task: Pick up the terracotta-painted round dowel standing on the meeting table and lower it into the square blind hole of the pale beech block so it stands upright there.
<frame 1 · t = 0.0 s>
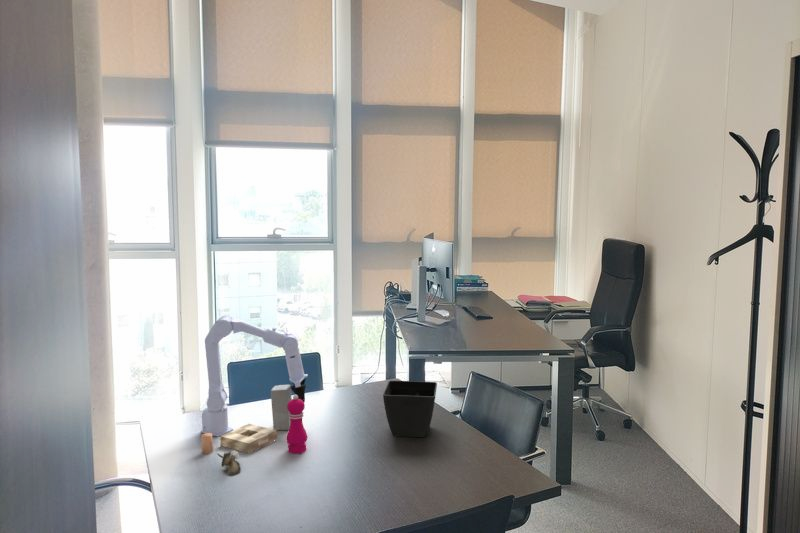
hand: (301, 399, 232), 11 cm above the table, tool pointing down, fingers open, 7 cm apart
peg: (207, 451, 210), on the table
bore block: (249, 442, 217), on the table
skincare box: (282, 427, 233), on the table
flower pot: (411, 431, 226), on the table
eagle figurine: (229, 471, 194), on the table
pepper mill: (297, 450, 210), on the table
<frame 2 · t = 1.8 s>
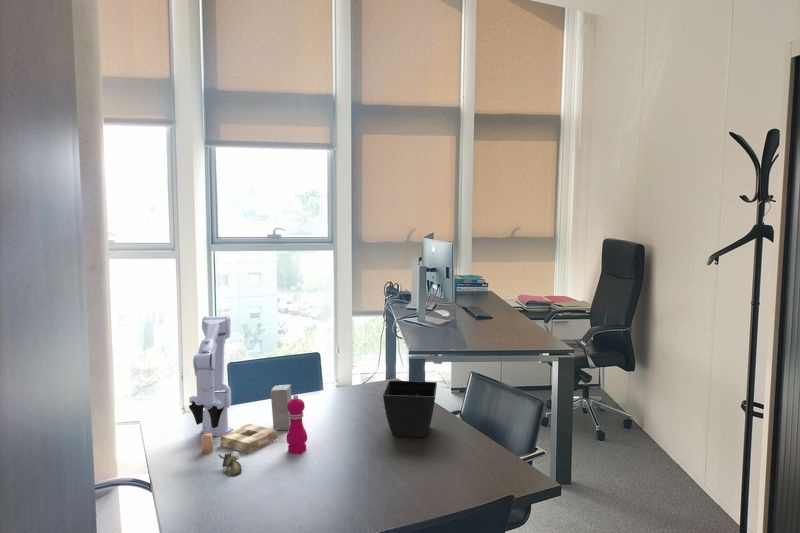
hand: (207, 425, 209), 9 cm above the table, tool pointing down, fingers open, 7 cm apart
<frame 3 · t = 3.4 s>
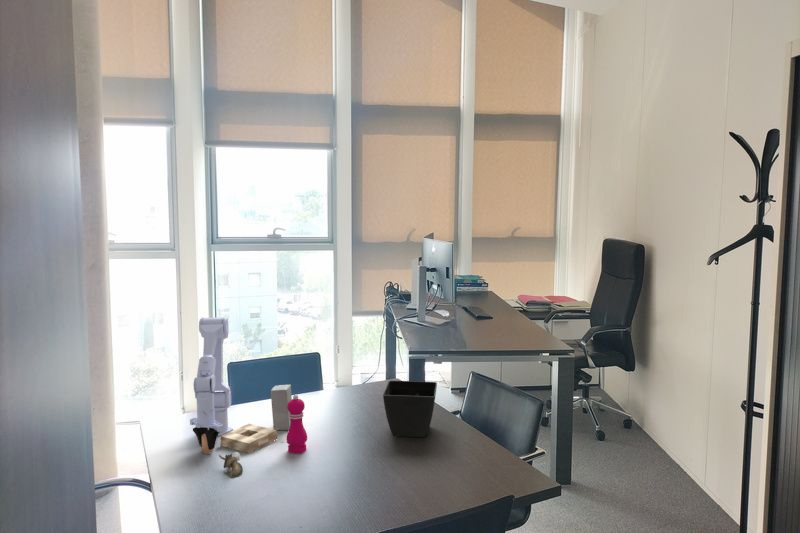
hand: (207, 447, 210), 1 cm above the table, tool pointing down, fingers closed on peg, 4 cm apart
peg: (207, 451, 210), on the table, touching gripper
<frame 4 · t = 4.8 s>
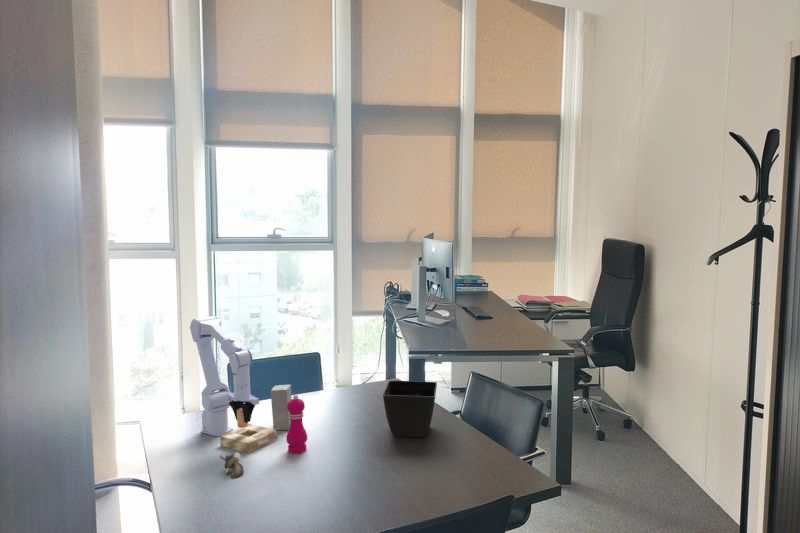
hand: (243, 420, 215), 8 cm above the table, tool pointing down, fingers closed on peg, 4 cm apart
peg: (242, 425, 215), point 7 cm above the table, touching gripper
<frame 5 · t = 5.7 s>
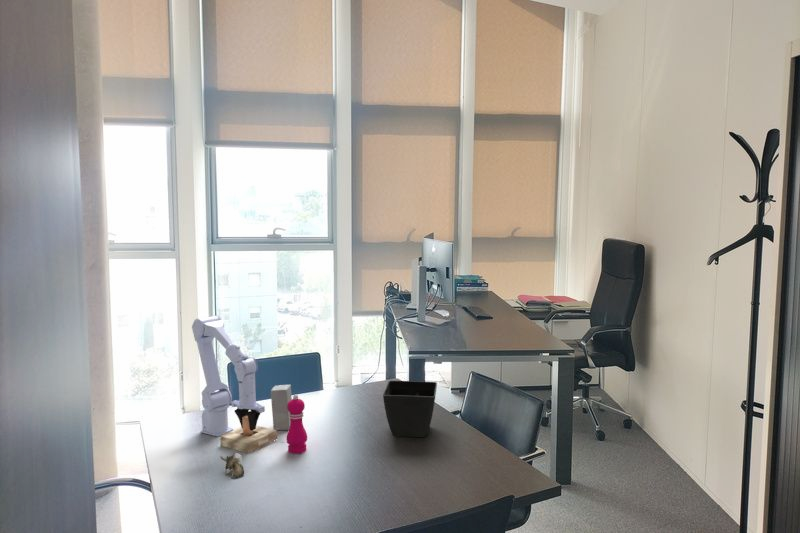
hand: (248, 428, 217), 5 cm above the table, tool pointing down, fingers closed on peg, 4 cm apart
peg: (248, 433, 217), point 4 cm above the table, touching gripper
when the fingers open (4 cm above the table, at t = 6.4 s): peg drops 1 cm, resting on bore block.
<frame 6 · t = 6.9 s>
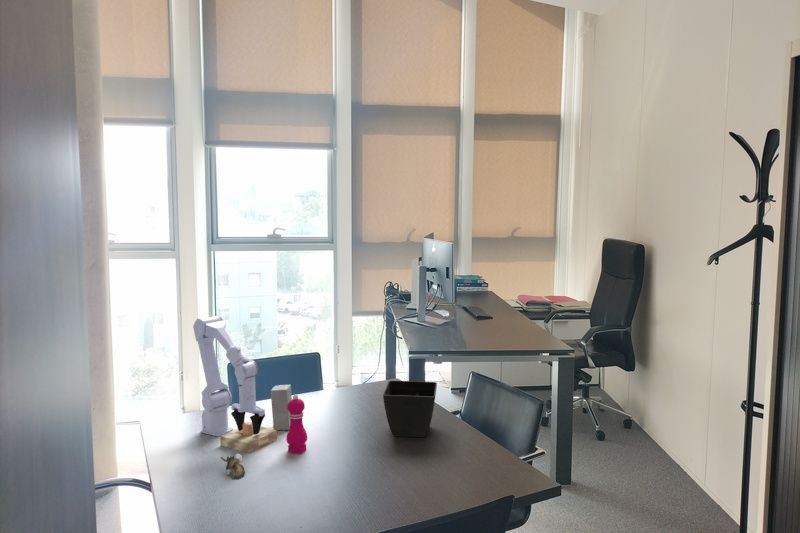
hand: (248, 431, 217), 4 cm above the table, tool pointing down, fingers open, 7 cm apart
peg: (248, 439, 217), point 1 cm above the table, touching bore block
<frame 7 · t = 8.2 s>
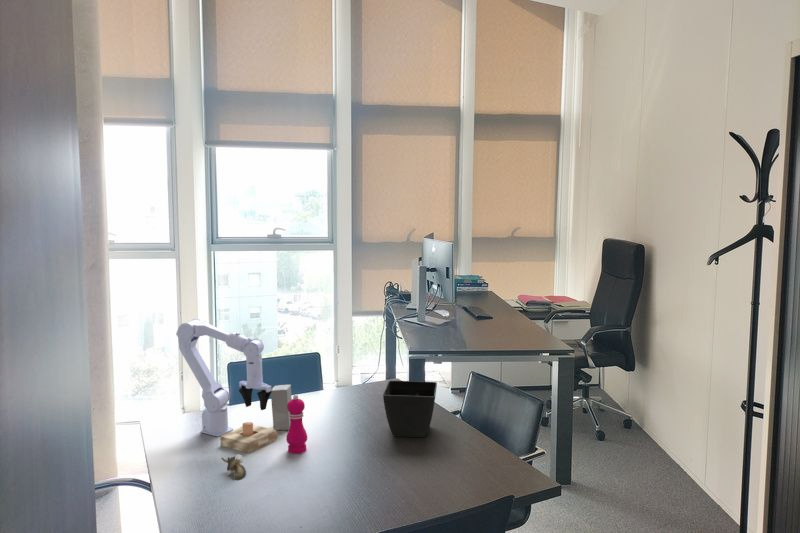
hand: (255, 407, 225), 10 cm above the table, tool pointing down, fingers open, 7 cm apart
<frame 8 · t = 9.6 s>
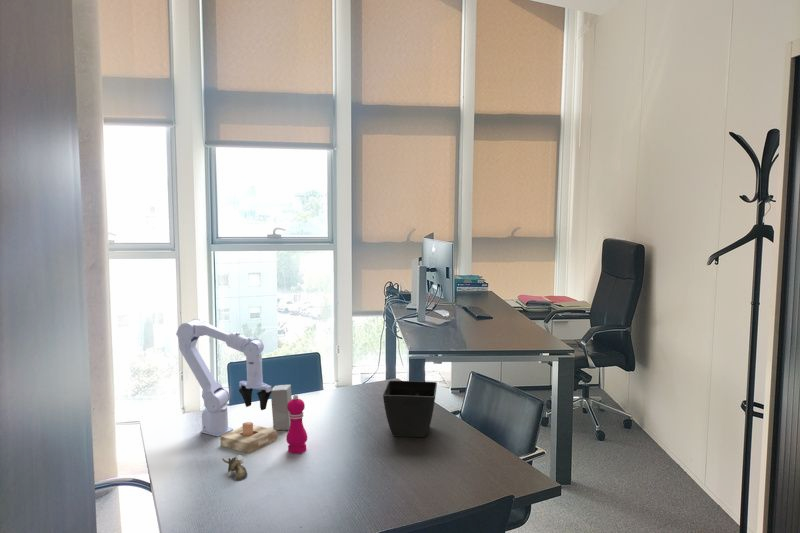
hand: (255, 407, 225), 10 cm above the table, tool pointing down, fingers open, 7 cm apart
at the end: peg 0.4 cm off-centre on the bore block, point 1.1 cm above the bore block's base; peg tilted 0°; the gripper is holding nothing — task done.
